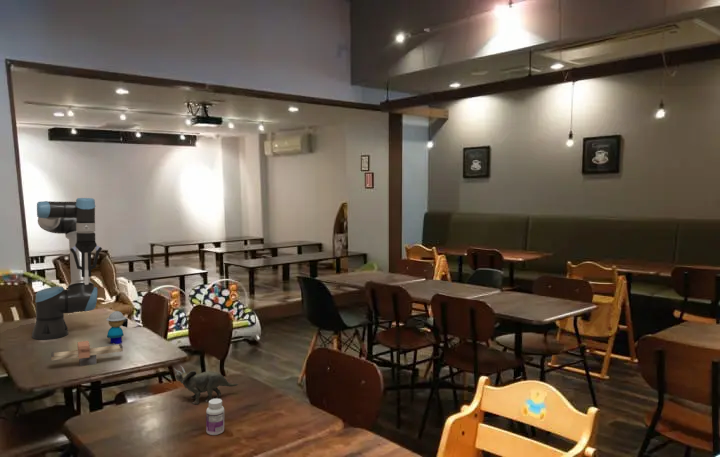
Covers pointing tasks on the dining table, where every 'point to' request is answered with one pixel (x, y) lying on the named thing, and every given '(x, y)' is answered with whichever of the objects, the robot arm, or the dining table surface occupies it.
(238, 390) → the dining table surface
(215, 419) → the pill bottle
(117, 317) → the toy
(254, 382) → the dining table surface
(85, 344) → the pink block
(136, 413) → the dining table surface
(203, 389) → the dinosaur figurine
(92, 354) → the beam
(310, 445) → the dining table surface
